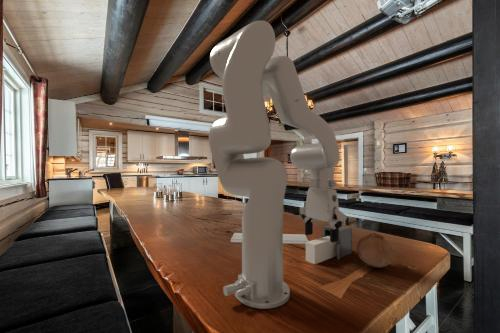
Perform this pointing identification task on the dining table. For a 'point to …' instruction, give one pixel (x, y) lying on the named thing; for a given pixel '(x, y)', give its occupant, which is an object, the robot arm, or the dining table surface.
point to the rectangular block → (320, 250)
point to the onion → (375, 250)
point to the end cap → (341, 240)
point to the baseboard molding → (286, 238)
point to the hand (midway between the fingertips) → (320, 237)
